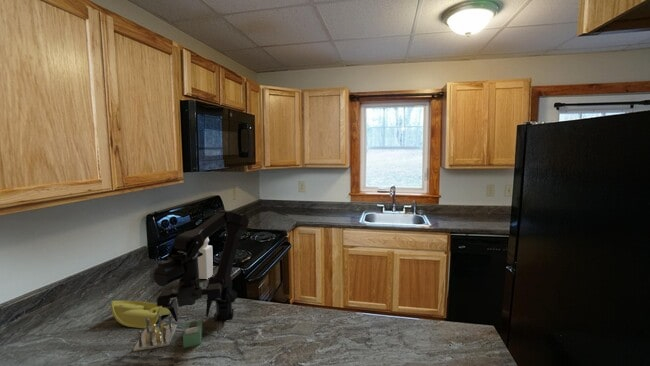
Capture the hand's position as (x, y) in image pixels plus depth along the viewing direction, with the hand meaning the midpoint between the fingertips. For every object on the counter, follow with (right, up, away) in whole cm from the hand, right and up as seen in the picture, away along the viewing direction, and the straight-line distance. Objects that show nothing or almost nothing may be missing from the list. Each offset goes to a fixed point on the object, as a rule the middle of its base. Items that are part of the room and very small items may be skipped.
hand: (192, 318), depth 96 cm
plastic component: (-25, -7, +14) cm, 30 cm away
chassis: (-13, -7, +1) cm, 14 cm away
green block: (0, -7, +1) cm, 7 cm away
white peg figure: (-16, -3, +50) cm, 53 cm away
